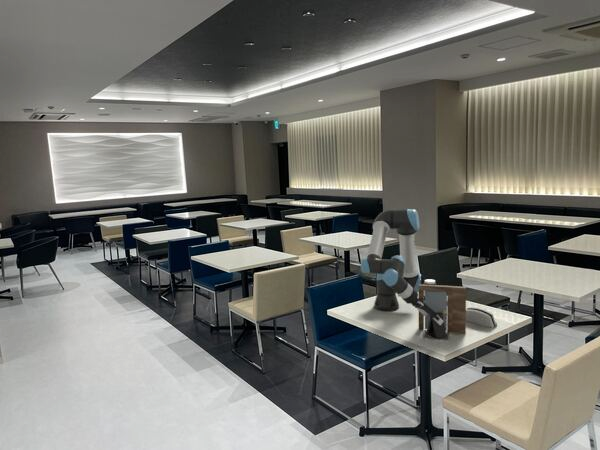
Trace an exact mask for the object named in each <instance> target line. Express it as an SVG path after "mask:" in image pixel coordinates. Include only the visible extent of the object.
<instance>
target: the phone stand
mask: <svg viewBox="0 0 600 450" xmlns="http://www.w3.org/2000/svg"><path fill="white" fill-rule="evenodd" d="M437 315H438V316H439V317H440V318H441V319H442V320H443V313H442V312H441V313H440V312H437ZM443 321H444V320H443ZM426 331H427V332H426V334H428V335H430V336H432V337H434V338H436V339H435V340H438V339H441V338H446V337H447V334H446V333H447V331H446V329H445V325H444V322H443V323H442V324H441V325H439V324H438V323H437V322H436V321H435V320H434V319H432V317H431V316H430V321H429V324H428V328H427V329H426Z"/></svg>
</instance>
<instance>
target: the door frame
mask: <svg viewBox="0 0 600 450" xmlns="http://www.w3.org/2000/svg"><path fill="white" fill-rule="evenodd" d="M423 284H424V283H423ZM423 284H421V283H420V284H419V292H418V298H419V299H421V301H423V302H424V303H425V298H424V290H426V291H443V292H447V331H446V333H449V334H457V335H458V334H459V335H466V329H467V327H466V326H467V321H466V310H467V286H457V285H439V284H438V285H437V284H436V285H423ZM424 330H425V316H424V315H423V314H422V313H421V312H420V311H419V310H418V331H424Z"/></svg>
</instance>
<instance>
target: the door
mask: <svg viewBox="0 0 600 450" xmlns="http://www.w3.org/2000/svg"><path fill="white" fill-rule="evenodd" d="M424 303H425V304H426V305H427V306H429V307H430V308H431V309H432V310H433V311H435V312H436V313H437V312H440V313H441V312H442V313H443V320H444V325H445V329H446V332H447V292H443V291H426V290H425V298H424ZM429 321H430V315H429V314H427V316H426V317H425V316H424V330H427V328H428V324H429Z"/></svg>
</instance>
